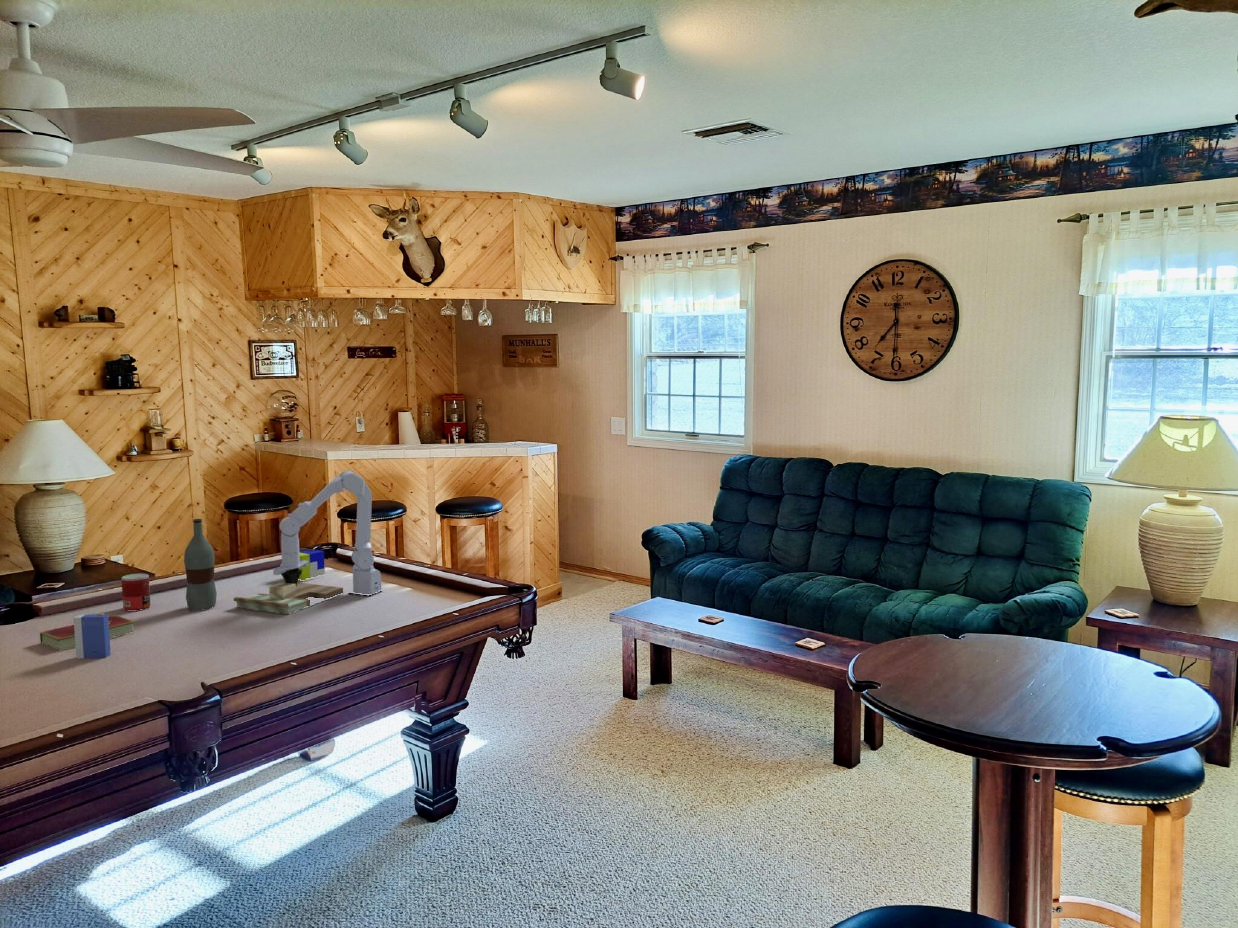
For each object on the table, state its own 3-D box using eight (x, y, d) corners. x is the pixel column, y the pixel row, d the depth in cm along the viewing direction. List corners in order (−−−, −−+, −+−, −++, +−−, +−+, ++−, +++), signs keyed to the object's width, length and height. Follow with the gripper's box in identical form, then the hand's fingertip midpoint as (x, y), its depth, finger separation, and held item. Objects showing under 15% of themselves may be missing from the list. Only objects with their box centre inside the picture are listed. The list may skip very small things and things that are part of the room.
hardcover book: (40, 644, 247) (39, 630, 247) (116, 627, 264) (115, 613, 264) (59, 652, 240) (58, 638, 240) (135, 634, 258) (134, 620, 257)
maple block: (296, 595, 291) (295, 584, 291) (283, 599, 285) (283, 588, 285) (282, 593, 293) (282, 582, 293) (269, 597, 288) (269, 586, 287)
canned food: (148, 610, 281) (147, 577, 280) (121, 612, 278) (119, 579, 277) (152, 604, 288) (150, 572, 287) (125, 606, 286) (123, 574, 284)
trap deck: (343, 594, 302) (342, 584, 301) (286, 615, 276) (285, 604, 276) (294, 588, 310) (293, 578, 309) (234, 608, 284) (233, 597, 283)
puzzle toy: (324, 576, 328) (323, 551, 327) (302, 581, 320) (302, 555, 319) (307, 573, 333) (307, 548, 332) (286, 578, 325) (285, 552, 324)
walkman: (110, 654, 238) (108, 612, 237) (105, 657, 235) (103, 615, 234) (81, 655, 237) (78, 613, 236) (75, 658, 235) (72, 616, 233)
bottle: (222, 603, 289) (218, 517, 286) (207, 611, 280) (202, 522, 277) (196, 603, 290) (192, 516, 287) (180, 610, 281) (175, 521, 278)
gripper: (296, 547, 300) (297, 584, 302) (265, 555, 287) (267, 594, 288) (312, 548, 298) (313, 586, 299) (282, 557, 284) (283, 596, 286)
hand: (291, 590), depth 293 cm, fingers closed
